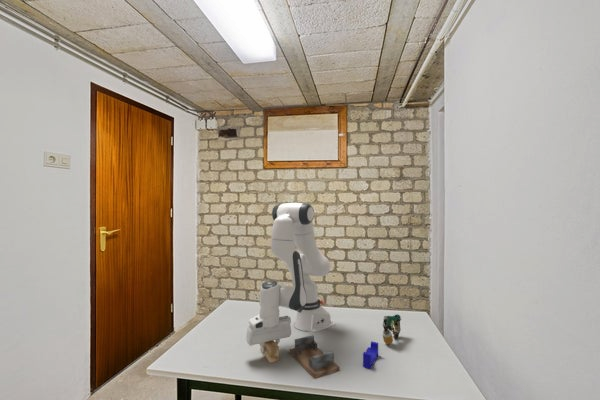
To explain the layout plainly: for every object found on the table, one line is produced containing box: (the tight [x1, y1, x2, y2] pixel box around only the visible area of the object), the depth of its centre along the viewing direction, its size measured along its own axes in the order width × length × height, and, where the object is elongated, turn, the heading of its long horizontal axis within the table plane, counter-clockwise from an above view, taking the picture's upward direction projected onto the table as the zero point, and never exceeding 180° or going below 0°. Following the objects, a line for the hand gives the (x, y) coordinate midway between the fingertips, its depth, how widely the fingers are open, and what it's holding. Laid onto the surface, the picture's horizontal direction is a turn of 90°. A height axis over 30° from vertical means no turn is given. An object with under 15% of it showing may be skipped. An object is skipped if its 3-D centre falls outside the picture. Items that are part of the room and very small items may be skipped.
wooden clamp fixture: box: [289, 334, 341, 379], centre depth 128 cm, size 12×22×6 cm, turn 27°
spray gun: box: [382, 314, 402, 345], centre depth 146 cm, size 4×17×15 cm, turn 137°
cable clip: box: [362, 341, 379, 370], centre depth 128 cm, size 12×4×6 cm, turn 150°
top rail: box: [261, 340, 280, 363], centre depth 133 cm, size 4×12×6 cm, turn 27°
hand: (269, 350), depth 133 cm, fingers closed on top rail, 4 cm apart
